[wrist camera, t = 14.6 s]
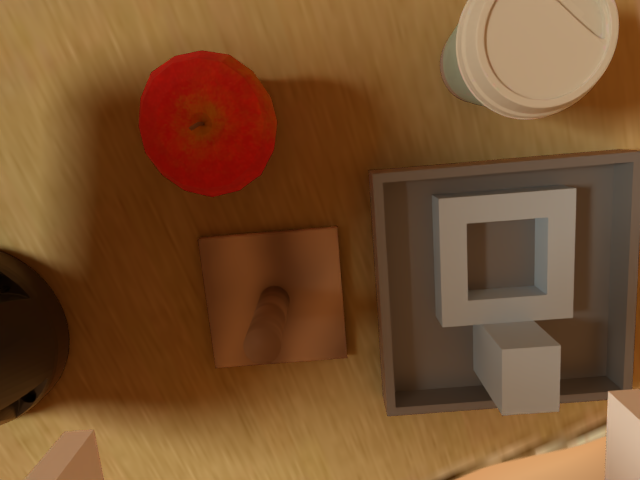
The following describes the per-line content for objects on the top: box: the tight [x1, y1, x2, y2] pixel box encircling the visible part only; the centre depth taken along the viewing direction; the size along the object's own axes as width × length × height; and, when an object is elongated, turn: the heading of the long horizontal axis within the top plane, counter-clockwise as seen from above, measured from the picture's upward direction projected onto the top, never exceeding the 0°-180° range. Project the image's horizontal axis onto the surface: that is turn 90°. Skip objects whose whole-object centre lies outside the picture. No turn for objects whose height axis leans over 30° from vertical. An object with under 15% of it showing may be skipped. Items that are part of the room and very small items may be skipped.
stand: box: [198, 226, 347, 368], centre depth 38 cm, size 11×11×10 cm
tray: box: [369, 149, 640, 416], centre depth 41 cm, size 19×19×3 cm
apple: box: [139, 51, 277, 197], centre depth 34 cm, size 9×8×12 cm
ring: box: [432, 185, 576, 416], centre depth 38 cm, size 10×15×7 cm, turn 5°
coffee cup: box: [440, 0, 619, 119], centre depth 33 cm, size 9×9×12 cm
